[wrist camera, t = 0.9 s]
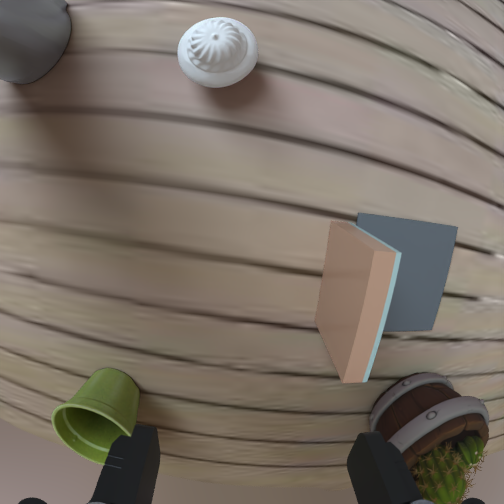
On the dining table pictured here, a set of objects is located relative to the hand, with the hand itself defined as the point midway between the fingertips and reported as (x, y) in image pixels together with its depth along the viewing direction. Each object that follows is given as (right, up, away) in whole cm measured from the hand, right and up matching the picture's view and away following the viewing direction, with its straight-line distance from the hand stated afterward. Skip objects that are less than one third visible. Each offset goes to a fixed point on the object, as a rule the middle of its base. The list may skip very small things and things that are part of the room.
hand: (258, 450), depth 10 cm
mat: (+15, +5, +20) cm, 25 cm away
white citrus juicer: (-3, +23, +14) cm, 28 cm away
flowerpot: (+20, -12, +25) cm, 34 cm away
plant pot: (-16, -9, +23) cm, 29 cm away
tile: (+7, +5, +20) cm, 22 cm away
